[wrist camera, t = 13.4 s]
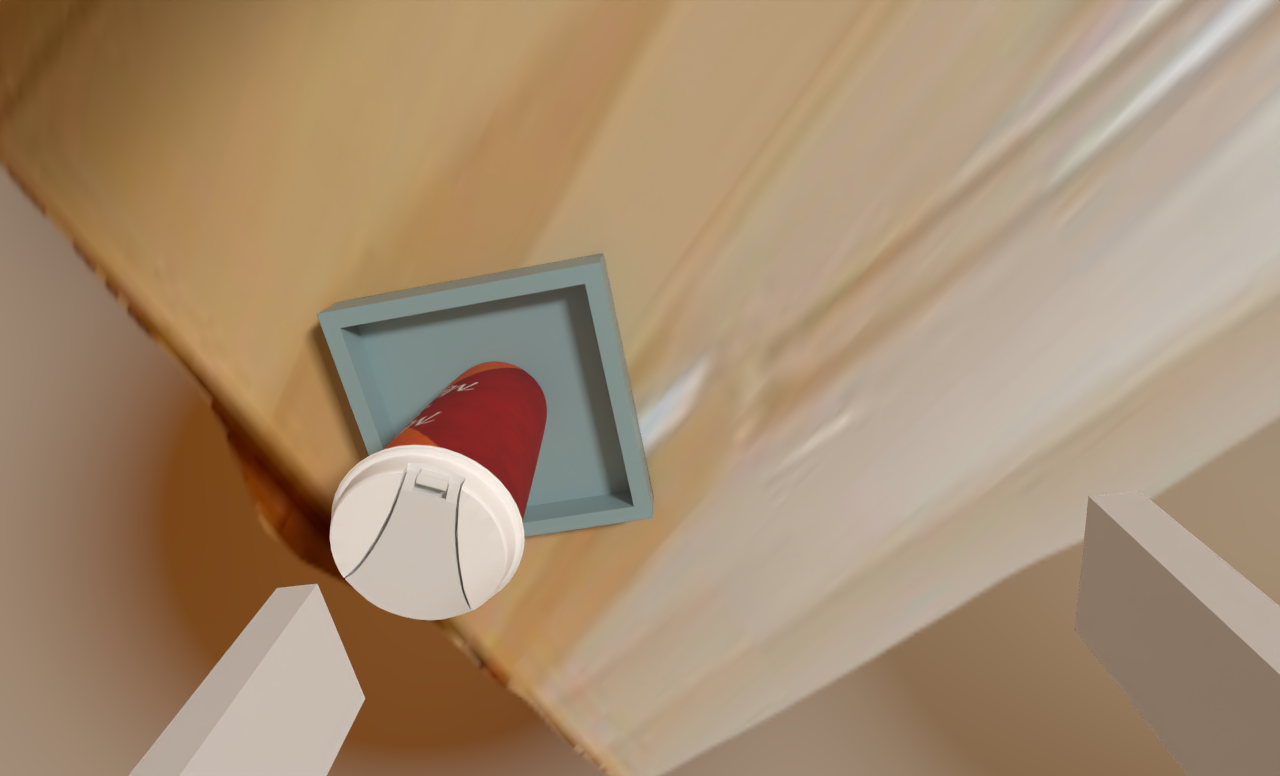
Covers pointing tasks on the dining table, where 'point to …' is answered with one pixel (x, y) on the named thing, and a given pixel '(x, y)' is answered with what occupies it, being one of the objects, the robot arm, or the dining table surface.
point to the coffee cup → (444, 498)
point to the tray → (522, 336)
